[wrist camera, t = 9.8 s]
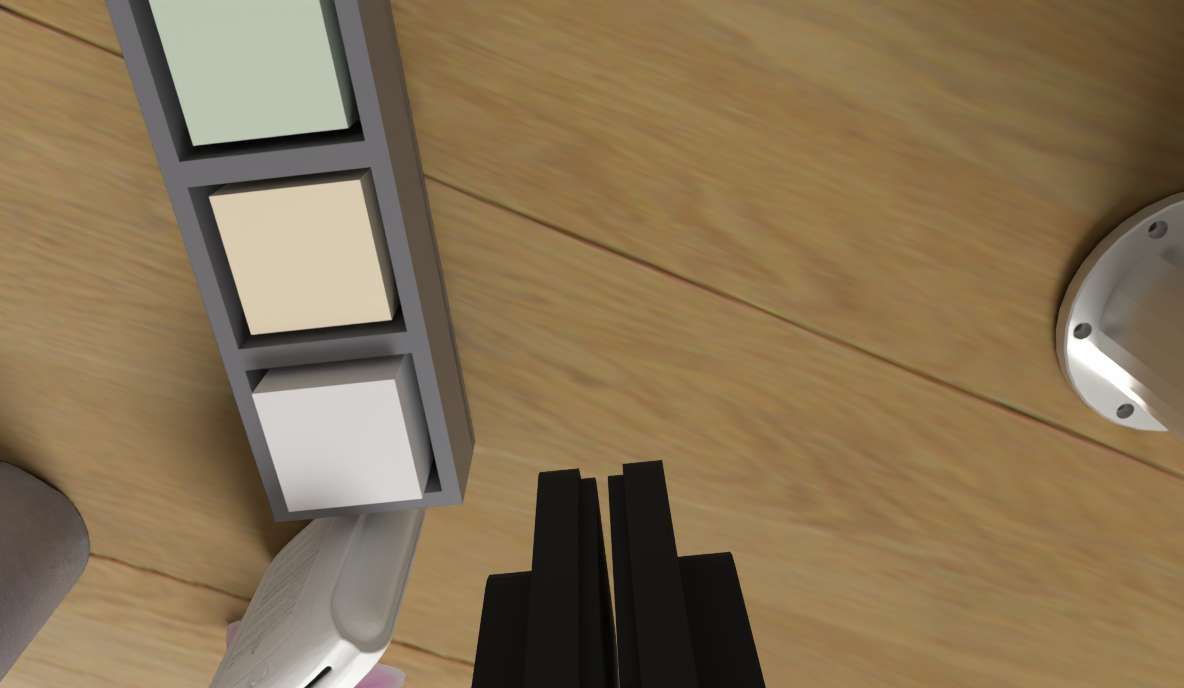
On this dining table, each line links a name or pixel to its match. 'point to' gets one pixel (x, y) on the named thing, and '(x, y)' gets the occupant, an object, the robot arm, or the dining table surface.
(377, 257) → the key sand
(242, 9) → the key sage
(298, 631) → the photo printer
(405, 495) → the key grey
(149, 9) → the grey compartment tray
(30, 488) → the pillar candle
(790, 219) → the dining table surface
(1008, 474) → the dining table surface
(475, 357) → the dining table surface
